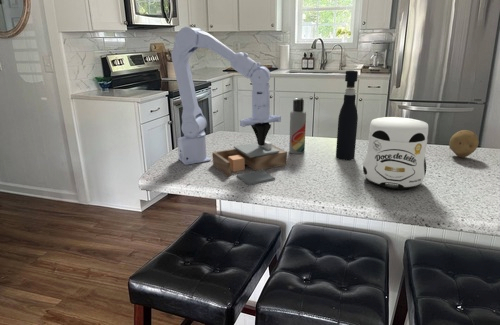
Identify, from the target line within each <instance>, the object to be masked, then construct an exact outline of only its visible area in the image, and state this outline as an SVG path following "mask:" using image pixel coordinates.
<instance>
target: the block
mask: <svg viewBox="0 0 500 325" xmlns="http://www.w3.org/2000/svg"><path fill="white" fill-rule="evenodd" d="M228 161H229V162H230V171H232V172H238V171H243V170H246V169H245V165H246V164H245V163H244V158H243V157H242V156H240V155H234V156H229V157H228Z"/></svg>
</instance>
